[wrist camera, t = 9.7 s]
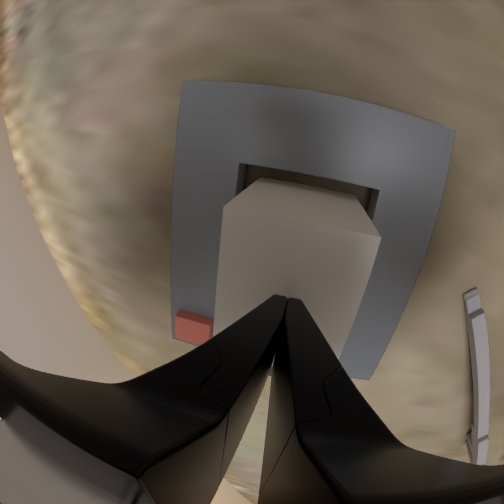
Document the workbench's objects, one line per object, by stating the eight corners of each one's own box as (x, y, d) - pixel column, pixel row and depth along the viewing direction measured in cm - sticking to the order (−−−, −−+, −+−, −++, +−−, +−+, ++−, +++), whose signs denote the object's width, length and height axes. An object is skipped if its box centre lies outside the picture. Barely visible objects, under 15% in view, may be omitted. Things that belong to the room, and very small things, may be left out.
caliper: (473, 436, 18) (485, 483, 13) (464, 441, 19) (475, 488, 13) (474, 284, 13) (523, 351, 8) (459, 291, 14) (505, 362, 8)
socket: (442, 130, 11) (461, 131, 9) (366, 363, 16) (369, 387, 14) (195, 85, 12) (177, 78, 10) (181, 324, 18) (168, 344, 16)
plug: (354, 194, 13) (381, 237, 8) (322, 317, 16) (319, 400, 10) (261, 176, 14) (223, 206, 8) (244, 301, 16) (210, 377, 11)
